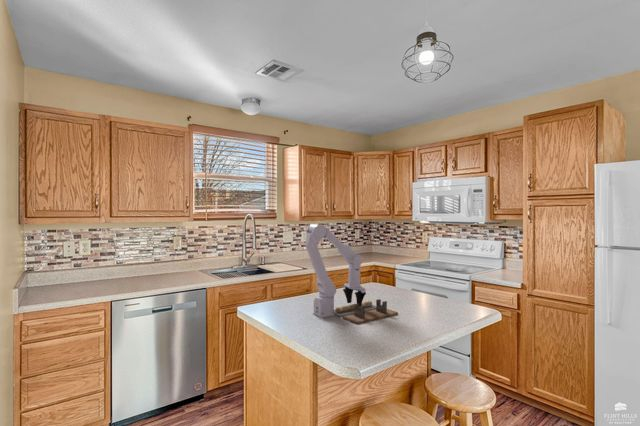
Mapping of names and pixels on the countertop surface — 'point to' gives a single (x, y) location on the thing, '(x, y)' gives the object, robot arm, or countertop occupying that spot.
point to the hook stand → (369, 313)
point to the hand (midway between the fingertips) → (354, 304)
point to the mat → (353, 311)
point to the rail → (352, 307)
